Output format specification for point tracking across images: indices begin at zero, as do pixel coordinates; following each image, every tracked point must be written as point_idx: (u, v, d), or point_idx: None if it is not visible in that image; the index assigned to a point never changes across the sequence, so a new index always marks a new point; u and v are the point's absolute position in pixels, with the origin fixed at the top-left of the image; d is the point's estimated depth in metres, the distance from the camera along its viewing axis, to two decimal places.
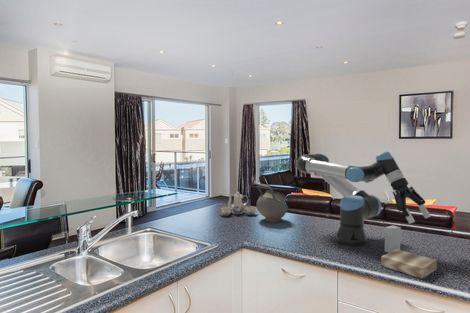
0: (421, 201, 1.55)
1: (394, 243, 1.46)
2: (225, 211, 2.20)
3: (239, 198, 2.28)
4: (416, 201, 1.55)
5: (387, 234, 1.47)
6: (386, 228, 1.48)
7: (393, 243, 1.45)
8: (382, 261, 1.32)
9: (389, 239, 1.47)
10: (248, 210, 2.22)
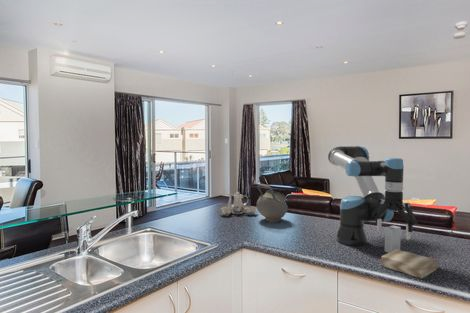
0: (407, 221, 1.41)
1: (394, 243, 1.46)
2: (225, 211, 2.19)
3: (239, 198, 2.28)
4: None
5: (387, 234, 1.47)
6: (386, 228, 1.48)
7: (393, 243, 1.46)
8: (382, 261, 1.32)
9: (389, 239, 1.47)
10: (248, 210, 2.22)
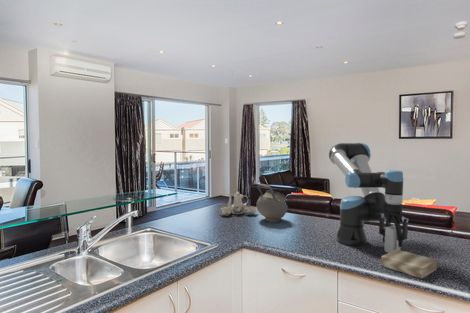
0: (398, 236, 1.45)
1: (394, 243, 1.46)
2: (225, 211, 2.19)
3: (239, 198, 2.27)
4: None
5: (387, 234, 1.47)
6: (386, 228, 1.48)
7: (393, 243, 1.45)
8: (382, 261, 1.32)
9: (389, 239, 1.47)
10: (248, 210, 2.22)
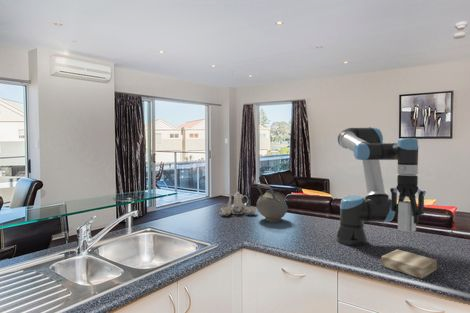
0: (414, 211, 1.29)
1: (409, 219, 1.30)
2: (225, 211, 2.19)
3: (239, 198, 2.27)
4: None
5: (401, 210, 1.31)
6: (399, 203, 1.32)
7: (408, 219, 1.29)
8: (382, 261, 1.32)
9: (403, 215, 1.31)
10: (248, 210, 2.22)
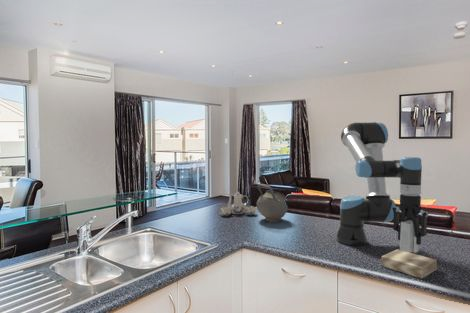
0: (416, 232, 1.26)
1: (412, 240, 1.27)
2: (225, 211, 2.19)
3: (239, 198, 2.27)
4: None
5: (403, 230, 1.29)
6: (402, 223, 1.29)
7: (410, 240, 1.27)
8: (382, 261, 1.32)
9: (405, 236, 1.28)
10: (248, 210, 2.21)
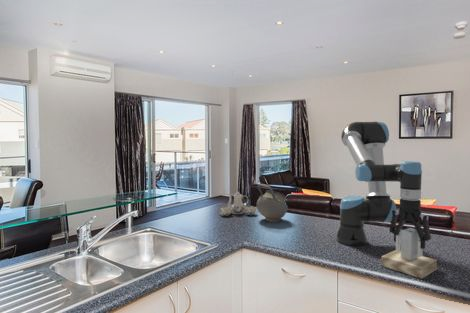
0: (420, 237, 1.25)
1: (412, 248, 1.27)
2: (225, 211, 2.19)
3: (239, 198, 2.27)
4: None
5: (404, 238, 1.28)
6: (403, 231, 1.29)
7: (411, 248, 1.27)
8: (382, 261, 1.32)
9: (406, 244, 1.28)
10: (248, 210, 2.21)
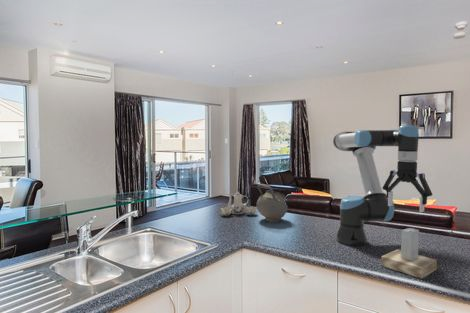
0: (421, 193, 1.31)
1: (412, 248, 1.27)
2: (225, 211, 2.19)
3: (239, 198, 2.27)
4: None
5: (404, 238, 1.29)
6: (403, 231, 1.29)
7: (411, 248, 1.27)
8: (382, 261, 1.32)
9: (406, 244, 1.28)
10: (248, 210, 2.21)
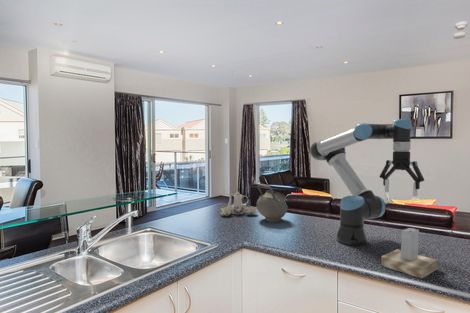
0: (415, 179, 1.47)
1: (412, 248, 1.27)
2: (225, 211, 2.19)
3: (239, 198, 2.27)
4: None
5: (404, 238, 1.29)
6: (403, 231, 1.29)
7: (411, 248, 1.27)
8: (382, 261, 1.32)
9: (406, 244, 1.28)
10: (248, 210, 2.21)
